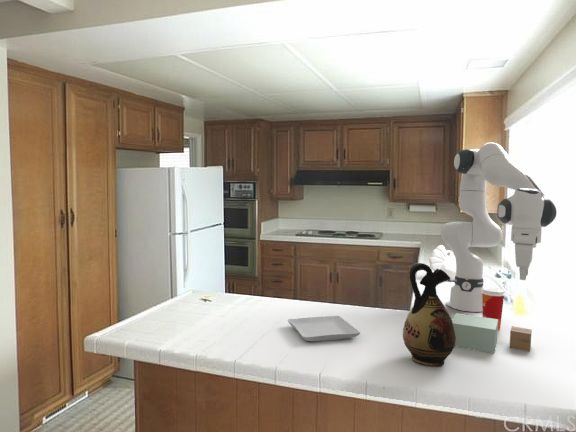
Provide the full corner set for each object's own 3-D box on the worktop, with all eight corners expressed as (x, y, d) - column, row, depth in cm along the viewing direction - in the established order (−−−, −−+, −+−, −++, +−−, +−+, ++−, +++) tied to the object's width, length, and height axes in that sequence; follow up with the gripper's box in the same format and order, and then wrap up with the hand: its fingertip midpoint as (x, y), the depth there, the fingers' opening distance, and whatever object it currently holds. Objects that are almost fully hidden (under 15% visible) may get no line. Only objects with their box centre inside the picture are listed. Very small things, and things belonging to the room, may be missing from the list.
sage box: (455, 334, 163) (456, 313, 162) (497, 341, 156) (498, 319, 156) (449, 345, 150) (450, 322, 150) (494, 354, 144) (495, 329, 143)
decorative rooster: (460, 277, 275) (462, 237, 273) (472, 282, 259) (474, 240, 257) (421, 276, 273) (422, 236, 271) (431, 282, 257) (433, 239, 256)
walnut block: (511, 343, 154) (512, 326, 154) (530, 346, 151) (531, 329, 151) (509, 348, 149) (510, 330, 149) (529, 351, 146) (530, 333, 146)
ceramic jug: (442, 351, 144) (446, 260, 142) (463, 370, 129) (467, 268, 127) (391, 351, 144) (394, 259, 142) (405, 370, 128) (409, 267, 126)
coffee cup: (484, 323, 176) (486, 286, 175) (506, 328, 170) (508, 290, 170) (476, 328, 170) (477, 289, 169) (498, 333, 164) (500, 293, 164)
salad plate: (303, 346, 147) (303, 336, 147) (286, 327, 168) (286, 318, 167) (361, 342, 153) (362, 332, 153) (338, 323, 173) (338, 315, 173)
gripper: (517, 233, 159) (515, 272, 159) (512, 238, 141) (510, 281, 142) (537, 235, 155) (535, 274, 156) (535, 239, 138) (533, 283, 139)
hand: (523, 277), depth 149 cm, fingers open, 8 cm apart
